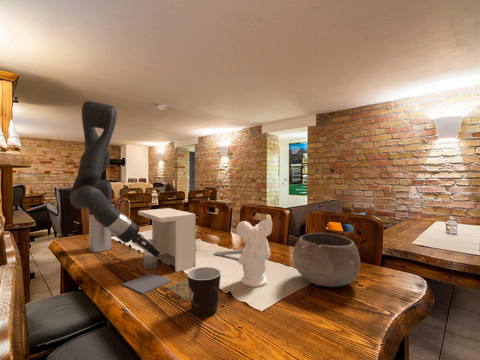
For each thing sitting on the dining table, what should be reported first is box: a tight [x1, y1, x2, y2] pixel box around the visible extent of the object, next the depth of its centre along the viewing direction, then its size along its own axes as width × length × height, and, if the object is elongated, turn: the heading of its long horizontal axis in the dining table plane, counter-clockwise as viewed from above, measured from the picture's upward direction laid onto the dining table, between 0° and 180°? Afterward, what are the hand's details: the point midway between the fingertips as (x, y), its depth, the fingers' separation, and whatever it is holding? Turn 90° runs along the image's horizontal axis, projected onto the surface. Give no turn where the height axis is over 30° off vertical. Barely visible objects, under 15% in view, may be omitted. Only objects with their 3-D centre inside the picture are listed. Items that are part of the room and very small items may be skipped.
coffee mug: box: [186, 266, 222, 319], centre depth 62 cm, size 12×9×10 cm
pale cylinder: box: [143, 238, 158, 270], centre depth 96 cm, size 5×5×10 cm
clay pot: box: [292, 232, 361, 288], centre depth 81 cm, size 21×21×15 cm
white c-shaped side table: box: [137, 207, 197, 273], centre depth 100 cm, size 24×14×21 cm, turn 40°
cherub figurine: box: [236, 216, 274, 288], centre depth 84 cm, size 12×12×22 cm
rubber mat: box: [121, 272, 173, 295], centre depth 81 cm, size 11×11×1 cm
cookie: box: [164, 278, 190, 301], centre depth 78 cm, size 12×12×1 cm
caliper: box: [212, 248, 244, 256], centre depth 107 cm, size 20×1×6 cm, turn 68°
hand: (155, 253), depth 97 cm, fingers closed on pale cylinder, 5 cm apart
